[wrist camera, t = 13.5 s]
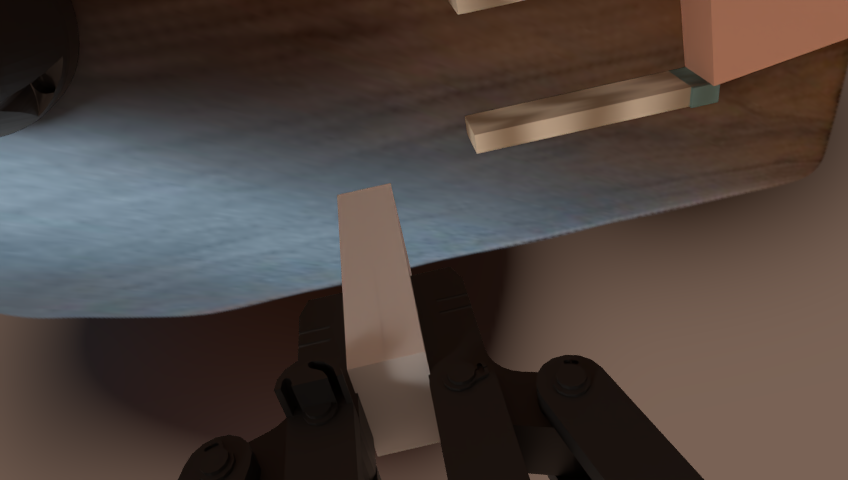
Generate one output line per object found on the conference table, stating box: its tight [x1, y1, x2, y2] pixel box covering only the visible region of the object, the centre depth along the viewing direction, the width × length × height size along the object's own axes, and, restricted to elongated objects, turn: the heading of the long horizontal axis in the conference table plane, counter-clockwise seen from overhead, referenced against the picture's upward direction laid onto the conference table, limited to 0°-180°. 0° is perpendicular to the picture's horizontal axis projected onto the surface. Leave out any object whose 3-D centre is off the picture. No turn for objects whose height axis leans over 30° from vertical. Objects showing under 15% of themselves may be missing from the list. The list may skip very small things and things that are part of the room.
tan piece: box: [448, 0, 720, 154], centre depth 43 cm, size 18×12×4 cm, turn 100°
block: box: [680, 0, 848, 86], centre depth 43 cm, size 10×7×4 cm
